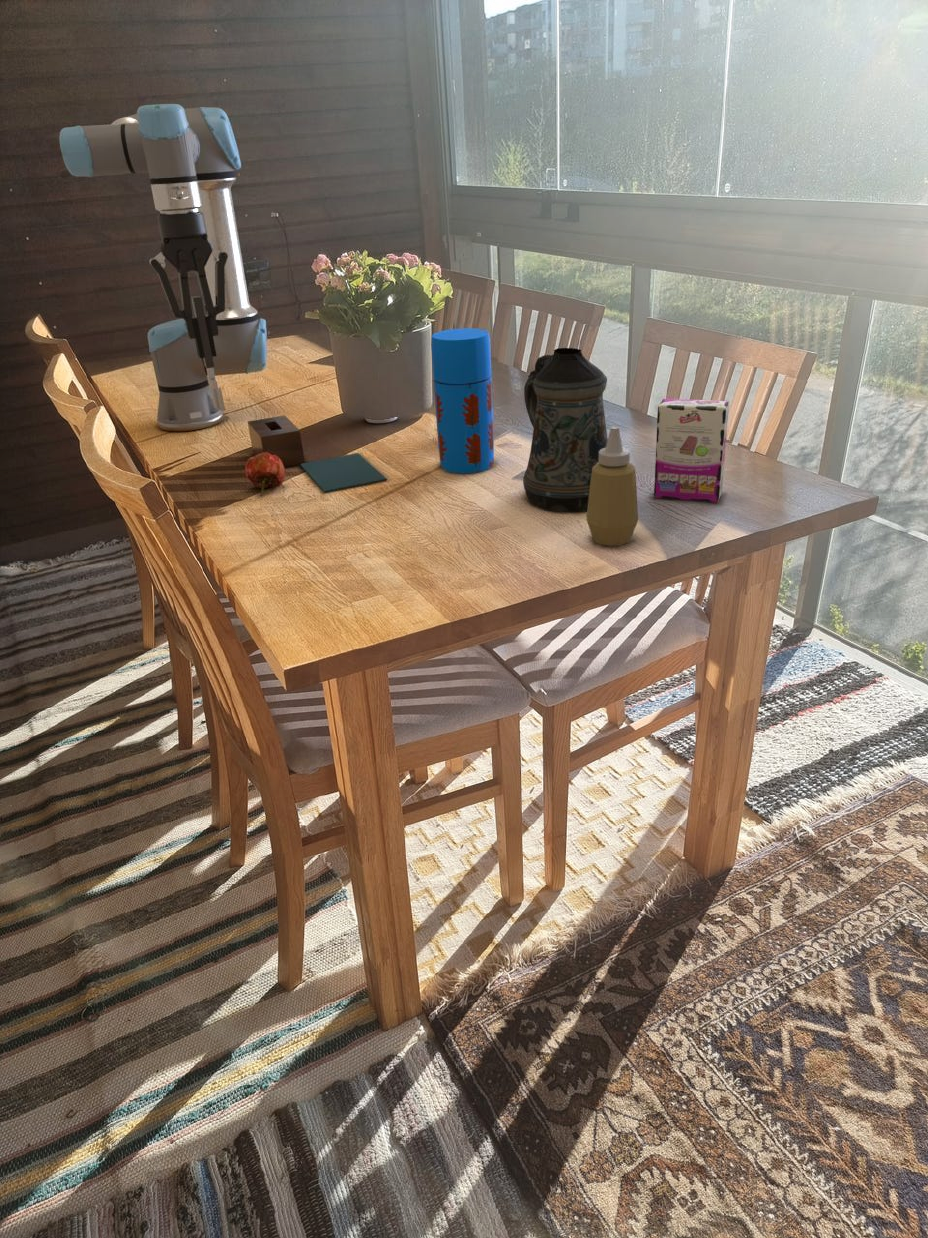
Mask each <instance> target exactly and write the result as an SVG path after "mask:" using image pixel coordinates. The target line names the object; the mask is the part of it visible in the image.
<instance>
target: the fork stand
mask: <svg viewBox="0 0 928 1238" xmlns="http://www.w3.org/2000/svg"><path fill="white" fill-rule="evenodd" d="M247 426H248V432H249V438H250V444H251V449H252V454H253V456H254V455H257V454H260V453H263V452H266V451H267V450H269V453H270V454H271V455H276V456H277V457H279V458H280V459H281V461H282V463H283V465H284V469H285V468H289V467H294V466H300V464H302V463H306V461H305V456H304V455H305V454H304V447H303V440H302V434H301V430H300V429H299V428H298V427H297V425H295V424H294V423H293V422H292V421H291V420H290V419H289V418H288V417H287V416H286V415H285V414H284V415H280V416H279V415H278V416H273V417H267V418H260V419H254V420H248V421H247Z"/></svg>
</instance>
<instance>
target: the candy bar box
mask: <svg viewBox="0 0 928 1238" xmlns="http://www.w3.org/2000/svg"><path fill="white" fill-rule="evenodd" d="M729 411H730V400H715V399H713V400H712V399H687V398H685V399H684V398H683V399H681V398H662V400H661V402H660V403H659V405H658V406H657V415H656V416H657V417H656V438H655V439H656V440H655V442H656V443H655V463H654V483H653V498H655V499H665V500H677V501H690V502H701V503H702V502H705V503H719V501H720V498H721V496H722V493H723V485H724V472H725V461H726V460H725V459H726V449H727V448H726V446H727V436H728V421H729Z"/></svg>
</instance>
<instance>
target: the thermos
mask: <svg viewBox="0 0 928 1238" xmlns="http://www.w3.org/2000/svg"><path fill="white" fill-rule="evenodd" d="M430 343H431V344H430V347H431V349H430V350H431V362H432V363H431V364H432V375H433V377H432V378H433V390H434V391H433V392H434V405H435V419H436V433H437V434H436V435H437V447H438V455H439V456H438V457H439V462H440V468H441V469H442V470H443V471H444V472H448V473H452V474H459V475H460V474H463V475H464V474H475V473H481V472H484V471H487V470H489V469H491V468H492V467H493V466H494V462H495V461H494V460H495V434H494V409H493V385H492V383H493V382H492V358H491V356H492V355H491V339H490V333H489V331H487V330H485V329H482V328H471V327H470V328H466V327H465V328H464V327H463V328H451V329H445V330H444V329H443V330H440V331H437V332H435V333H433V334H432V335H431V341H430Z"/></svg>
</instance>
